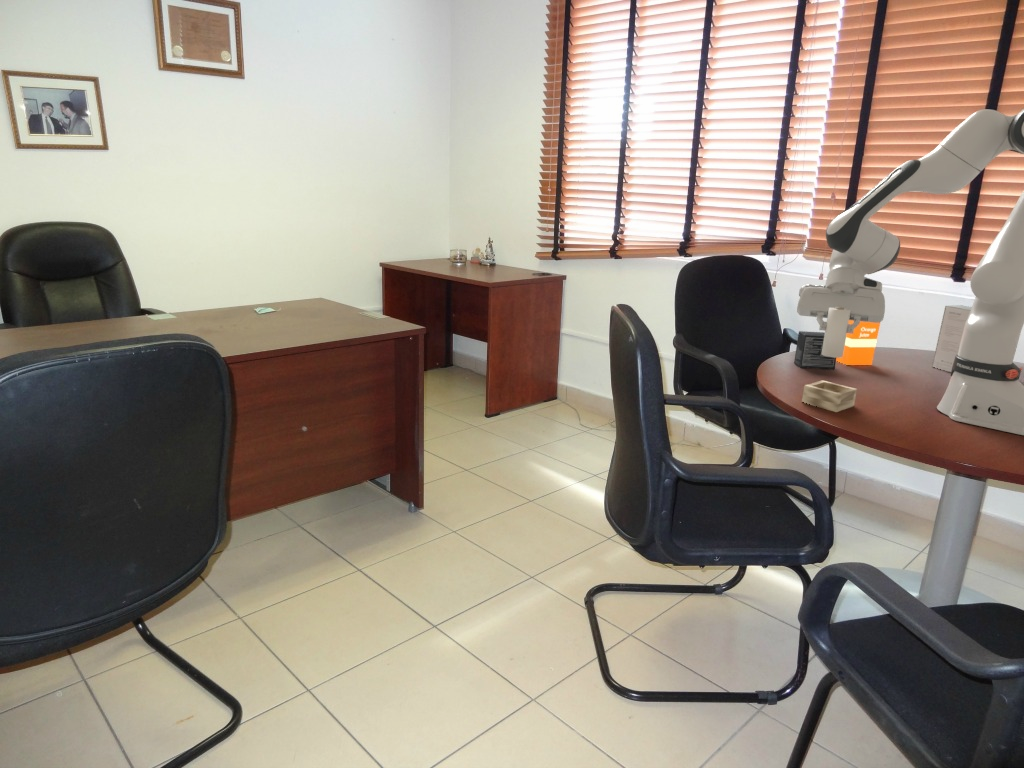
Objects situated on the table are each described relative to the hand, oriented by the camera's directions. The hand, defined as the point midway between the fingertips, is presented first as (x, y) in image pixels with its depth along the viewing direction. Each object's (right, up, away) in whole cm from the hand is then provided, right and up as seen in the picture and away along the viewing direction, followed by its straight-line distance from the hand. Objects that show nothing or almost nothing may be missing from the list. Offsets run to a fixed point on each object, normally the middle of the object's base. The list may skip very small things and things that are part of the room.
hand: (836, 330), depth 167 cm
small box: (+11, -8, +37) cm, 40 cm away
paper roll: (0, -6, +2) cm, 7 cm away
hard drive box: (+57, -10, +36) cm, 68 cm away
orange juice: (+26, -7, +44) cm, 51 cm away
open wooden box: (-2, -19, 0) cm, 19 cm away
